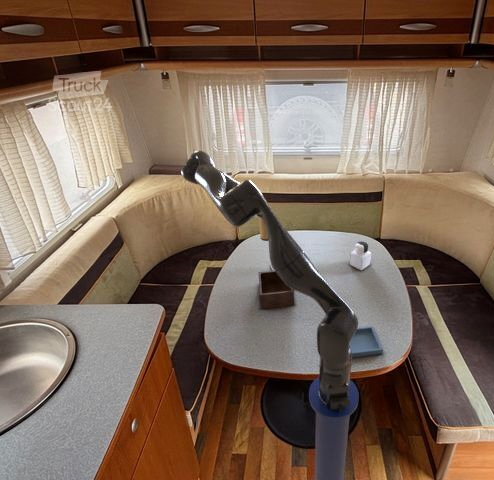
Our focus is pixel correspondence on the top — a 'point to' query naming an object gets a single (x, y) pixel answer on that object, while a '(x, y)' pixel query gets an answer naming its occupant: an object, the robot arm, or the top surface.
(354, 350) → the tray
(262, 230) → the cookie roll
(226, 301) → the top surface
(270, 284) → the chest
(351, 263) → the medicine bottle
